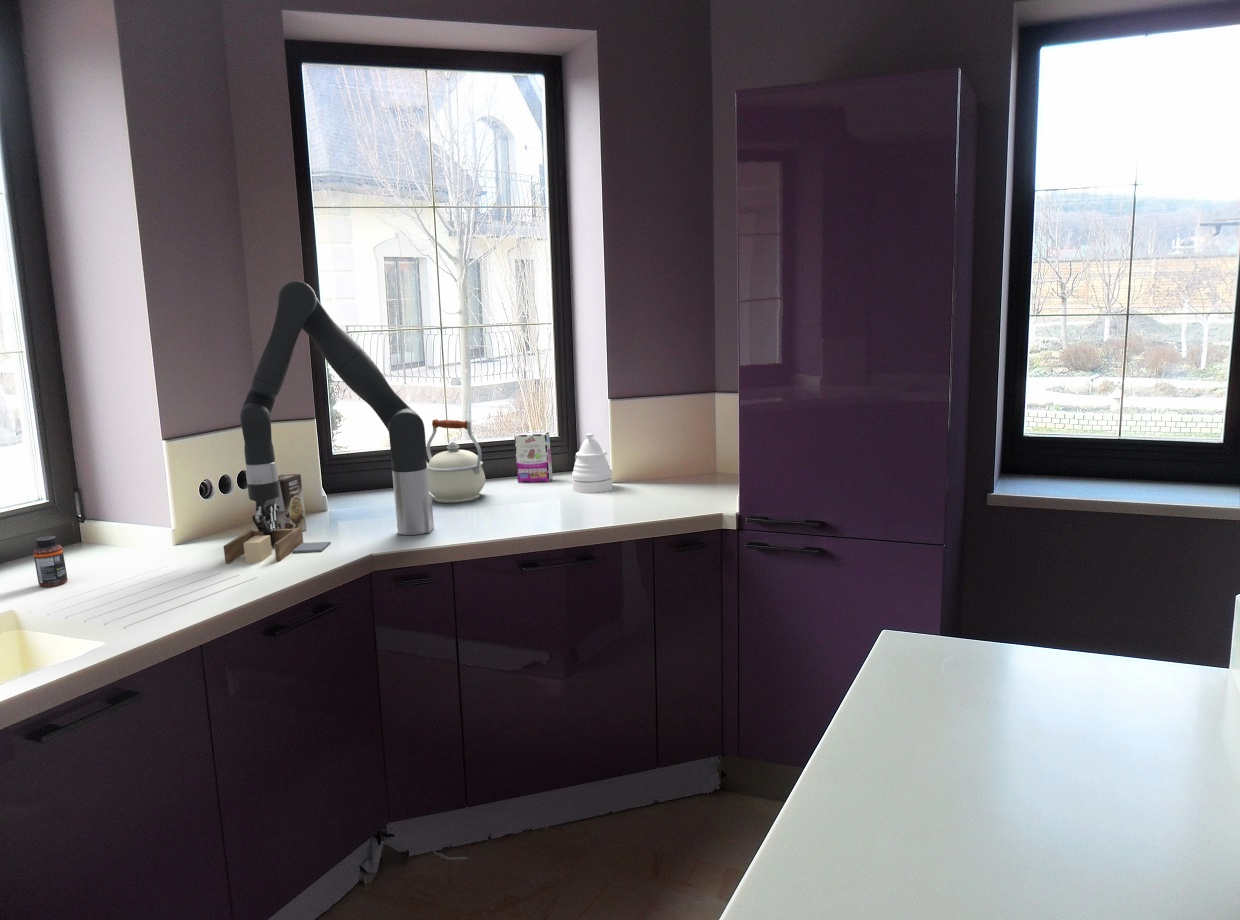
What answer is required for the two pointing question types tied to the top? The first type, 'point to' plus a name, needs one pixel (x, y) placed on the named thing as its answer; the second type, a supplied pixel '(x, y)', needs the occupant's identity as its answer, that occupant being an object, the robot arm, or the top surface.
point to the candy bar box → (533, 457)
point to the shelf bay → (283, 545)
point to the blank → (257, 548)
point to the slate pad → (311, 547)
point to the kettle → (454, 468)
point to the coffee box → (290, 503)
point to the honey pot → (591, 468)
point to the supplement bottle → (49, 562)
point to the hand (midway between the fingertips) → (270, 545)
